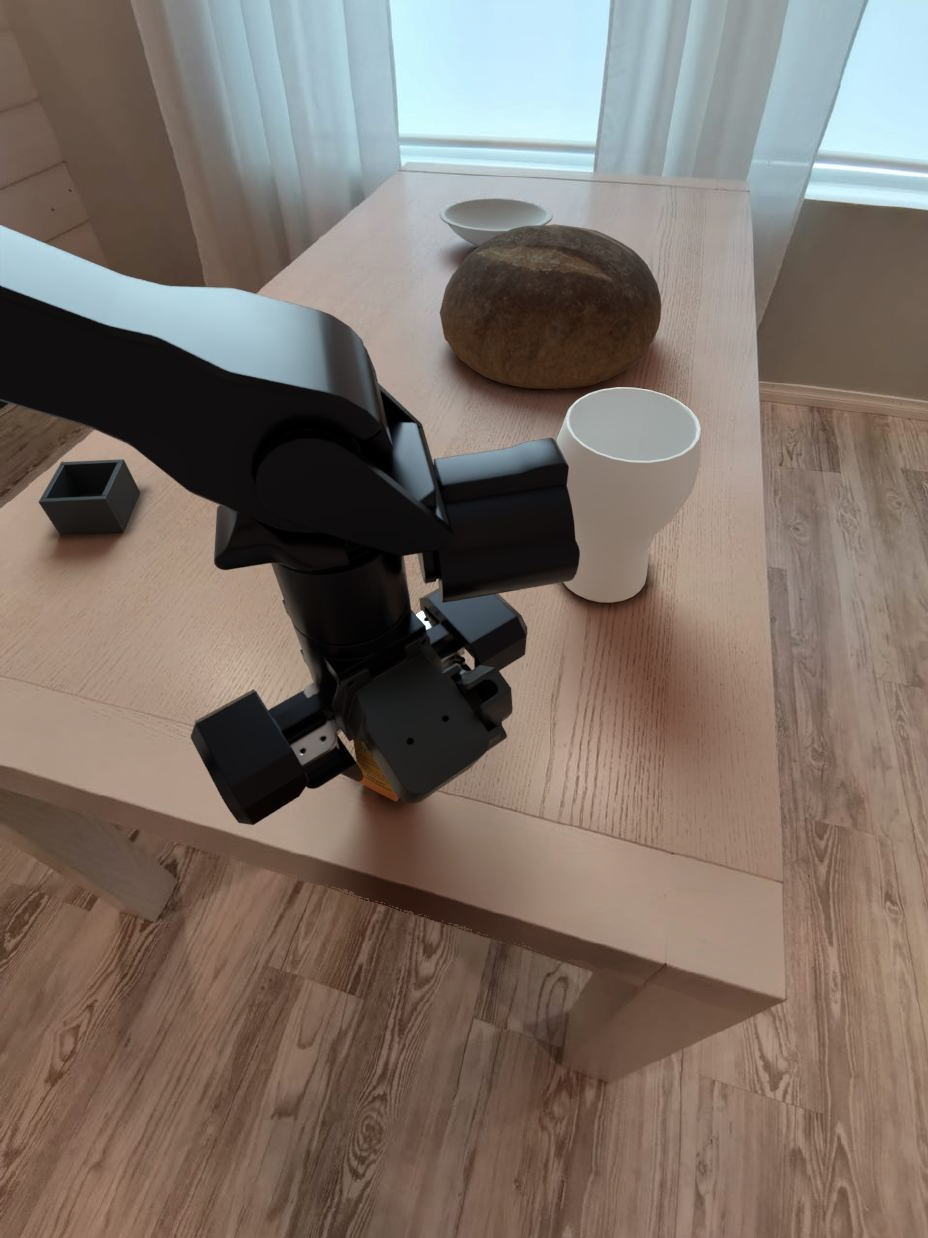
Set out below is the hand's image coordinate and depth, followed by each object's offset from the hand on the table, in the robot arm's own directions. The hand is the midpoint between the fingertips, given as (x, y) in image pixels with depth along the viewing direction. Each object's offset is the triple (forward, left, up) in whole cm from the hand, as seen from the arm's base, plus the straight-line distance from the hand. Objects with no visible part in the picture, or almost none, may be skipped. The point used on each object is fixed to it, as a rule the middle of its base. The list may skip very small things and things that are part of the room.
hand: (387, 756), depth 43 cm
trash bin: (-8, +41, -3) cm, 42 cm away
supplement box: (0, 0, -3) cm, 3 cm away
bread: (+48, +40, -3) cm, 63 cm away
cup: (+25, +6, -3) cm, 26 cm away
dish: (+62, +69, -3) cm, 93 cm away
